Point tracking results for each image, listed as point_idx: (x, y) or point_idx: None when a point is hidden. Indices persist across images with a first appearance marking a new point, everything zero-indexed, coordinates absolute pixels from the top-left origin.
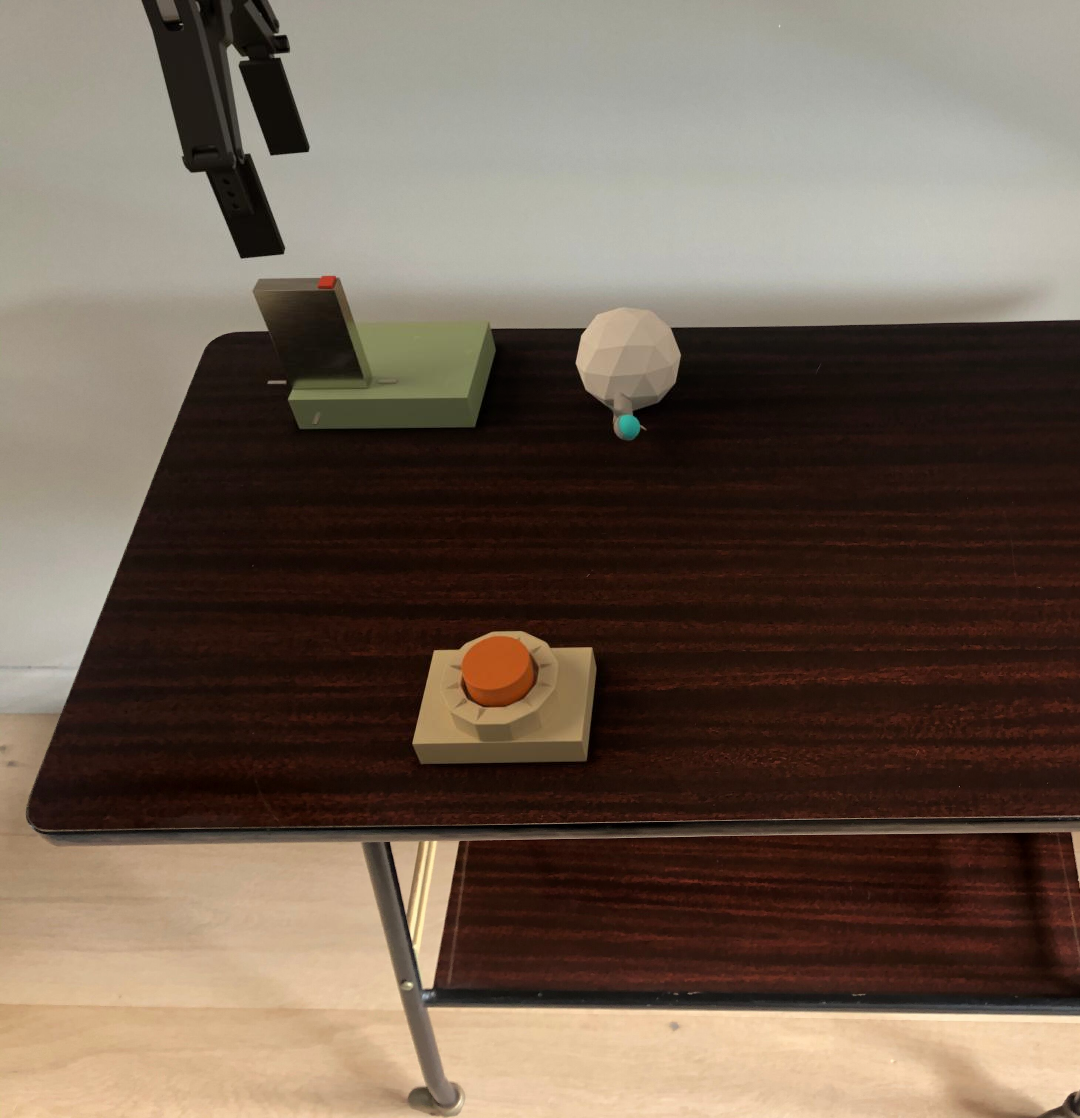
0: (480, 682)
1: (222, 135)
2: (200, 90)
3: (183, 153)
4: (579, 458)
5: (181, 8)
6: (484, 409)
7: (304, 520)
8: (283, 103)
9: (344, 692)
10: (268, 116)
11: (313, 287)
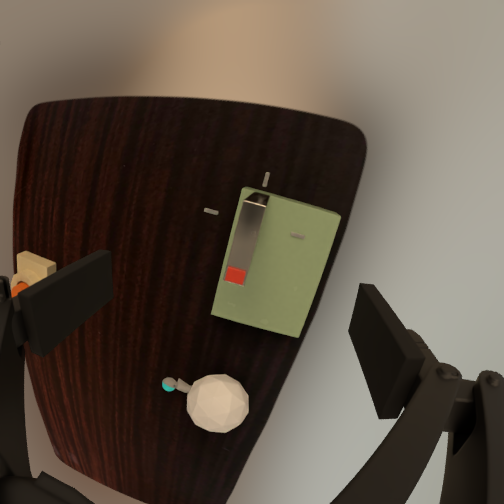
0: (13, 292)
1: None
2: None
3: None
4: (176, 350)
5: None
6: None
7: (152, 193)
8: (367, 361)
9: (50, 220)
10: (371, 325)
11: (231, 262)
